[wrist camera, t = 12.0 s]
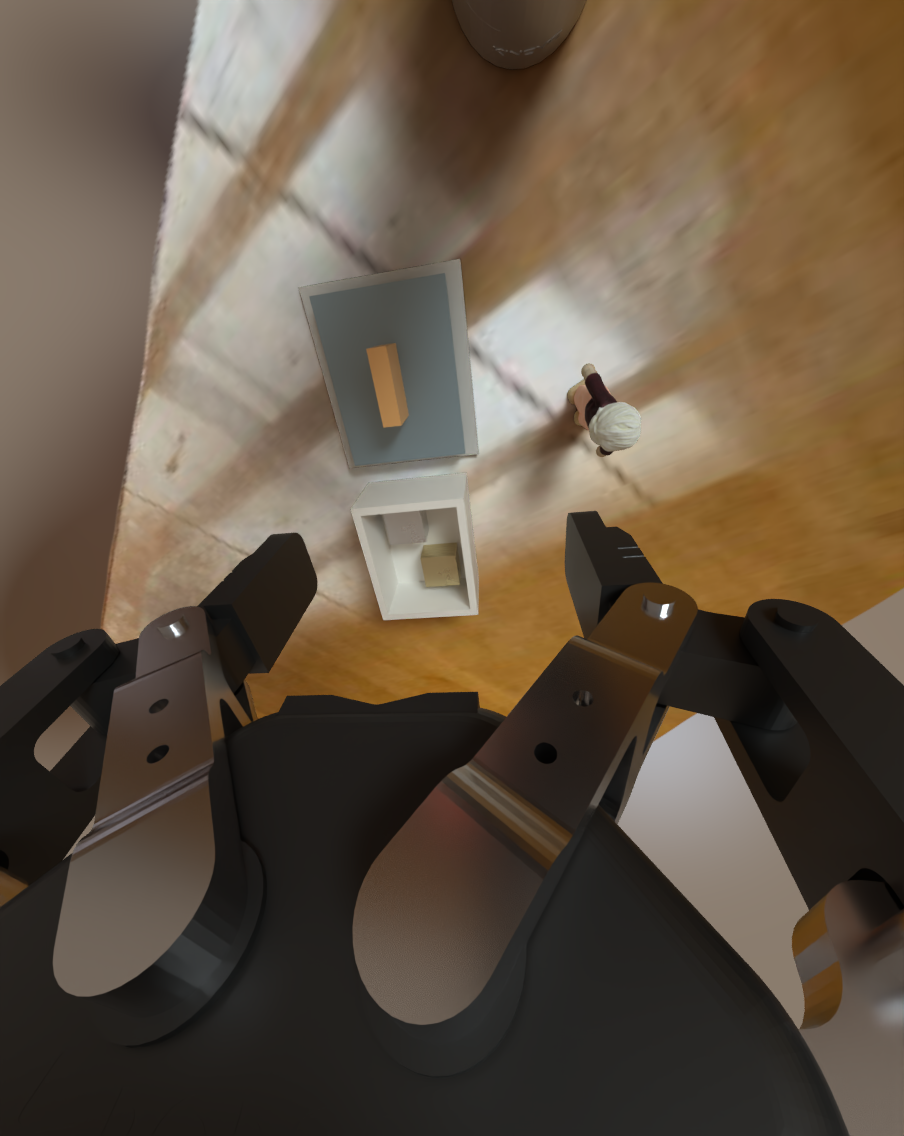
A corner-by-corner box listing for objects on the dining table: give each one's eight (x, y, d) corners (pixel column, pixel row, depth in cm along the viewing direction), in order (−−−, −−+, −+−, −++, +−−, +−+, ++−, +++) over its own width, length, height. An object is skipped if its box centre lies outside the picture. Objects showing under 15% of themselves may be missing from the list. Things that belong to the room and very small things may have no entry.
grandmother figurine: (618, 422, 38) (670, 464, 27) (581, 443, 39) (617, 491, 29) (587, 347, 35) (633, 361, 24) (548, 372, 36) (575, 397, 25)
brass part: (423, 545, 46) (420, 558, 44) (457, 542, 46) (455, 555, 43) (429, 572, 48) (426, 587, 46) (461, 570, 48) (459, 584, 45)
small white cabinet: (368, 482, 43) (350, 509, 37) (466, 472, 42) (463, 498, 36) (394, 584, 51) (383, 620, 45) (478, 579, 49) (478, 614, 43)
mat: (300, 287, 34) (298, 287, 33) (460, 259, 32) (460, 258, 32) (350, 466, 42) (349, 468, 42) (478, 452, 40) (478, 453, 40)
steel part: (388, 500, 43) (382, 512, 41) (423, 497, 43) (419, 508, 40) (395, 532, 45) (390, 545, 43) (429, 529, 45) (426, 542, 42)
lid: (316, 297, 34) (288, 294, 29) (446, 274, 32) (440, 267, 27) (359, 460, 41) (343, 479, 36) (465, 448, 40) (463, 467, 35)
